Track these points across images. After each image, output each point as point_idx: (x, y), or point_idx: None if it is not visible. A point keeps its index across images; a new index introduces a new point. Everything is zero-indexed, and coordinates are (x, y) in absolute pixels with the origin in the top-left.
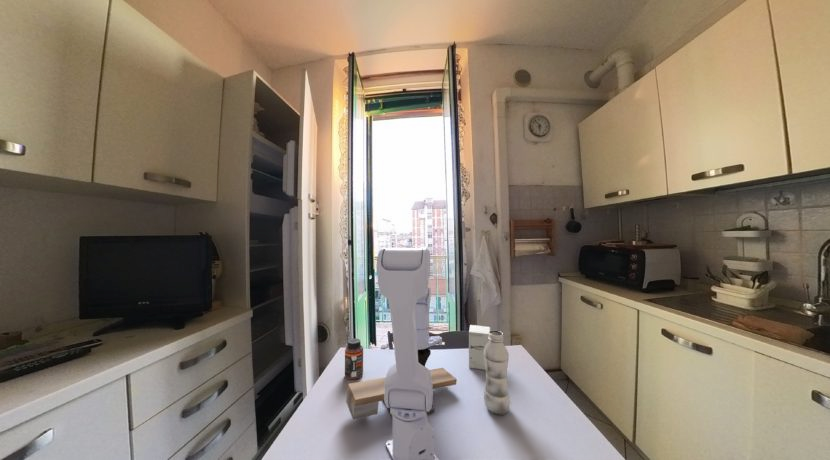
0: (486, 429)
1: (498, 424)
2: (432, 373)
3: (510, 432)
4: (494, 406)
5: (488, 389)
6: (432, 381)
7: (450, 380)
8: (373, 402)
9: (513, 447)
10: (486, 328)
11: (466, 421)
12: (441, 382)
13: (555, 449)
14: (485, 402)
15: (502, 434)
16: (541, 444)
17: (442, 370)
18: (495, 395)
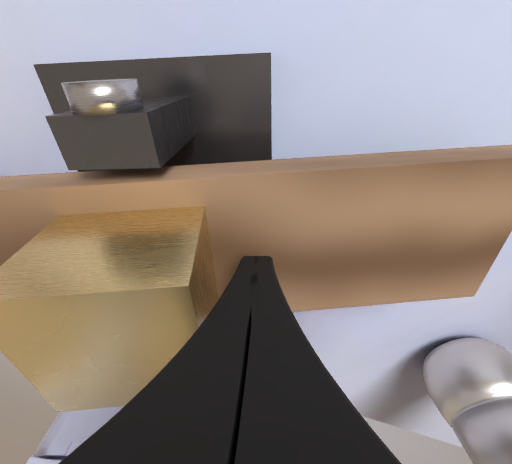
0: (357, 373)
1: (397, 375)
2: (395, 216)
3: (395, 393)
4: (430, 396)
5: (465, 433)
6: (323, 292)
7: (430, 299)
8: None
9: (361, 407)
10: None
11: (335, 344)
12: (367, 303)
13: (421, 429)
14: (435, 368)
15: (374, 389)
16: (414, 420)
17: (505, 194)
18: (456, 435)
